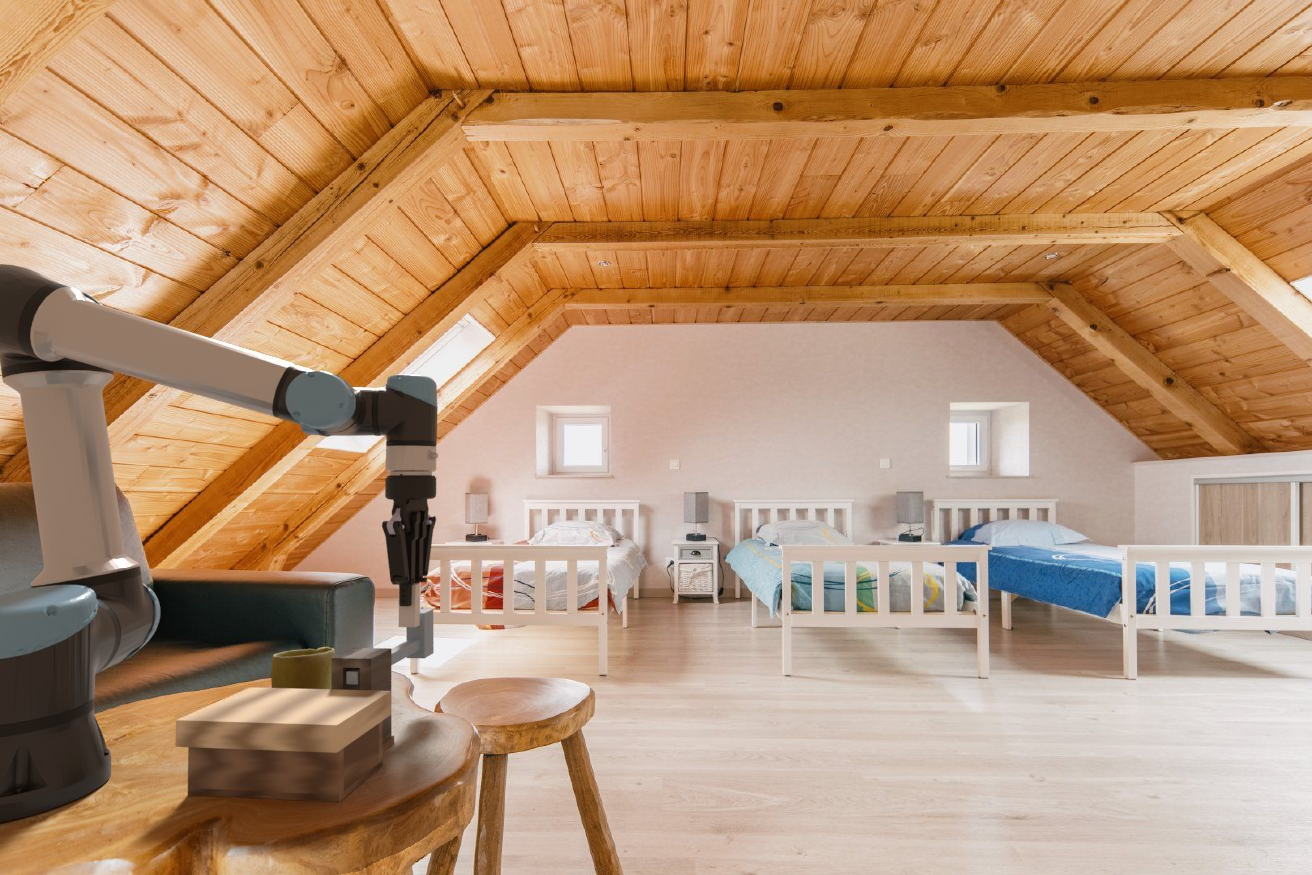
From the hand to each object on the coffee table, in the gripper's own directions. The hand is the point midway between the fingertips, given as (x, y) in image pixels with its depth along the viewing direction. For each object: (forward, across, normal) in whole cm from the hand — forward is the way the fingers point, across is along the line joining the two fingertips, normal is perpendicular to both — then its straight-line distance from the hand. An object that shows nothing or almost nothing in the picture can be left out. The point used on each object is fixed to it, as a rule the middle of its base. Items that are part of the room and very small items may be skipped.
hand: (409, 625), depth 103 cm
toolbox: (+13, -19, +3) cm, 23 cm away
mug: (+14, +6, +20) cm, 25 cm away
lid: (+8, -22, +4) cm, 24 cm away
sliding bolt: (+5, -6, 0) cm, 8 cm away
